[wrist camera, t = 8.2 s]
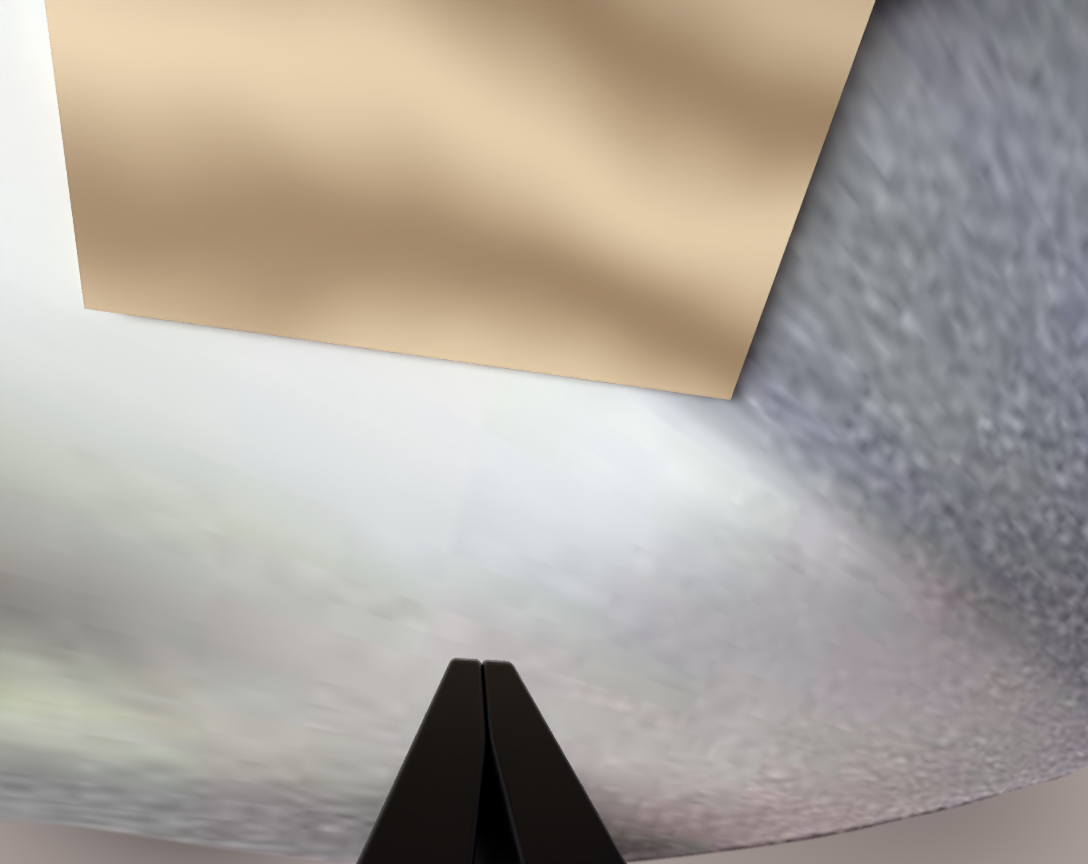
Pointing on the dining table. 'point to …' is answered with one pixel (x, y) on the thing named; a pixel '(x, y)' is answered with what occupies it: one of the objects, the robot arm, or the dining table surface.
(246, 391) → the dining table surface
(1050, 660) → the dining table surface
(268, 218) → the base
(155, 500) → the dining table surface
